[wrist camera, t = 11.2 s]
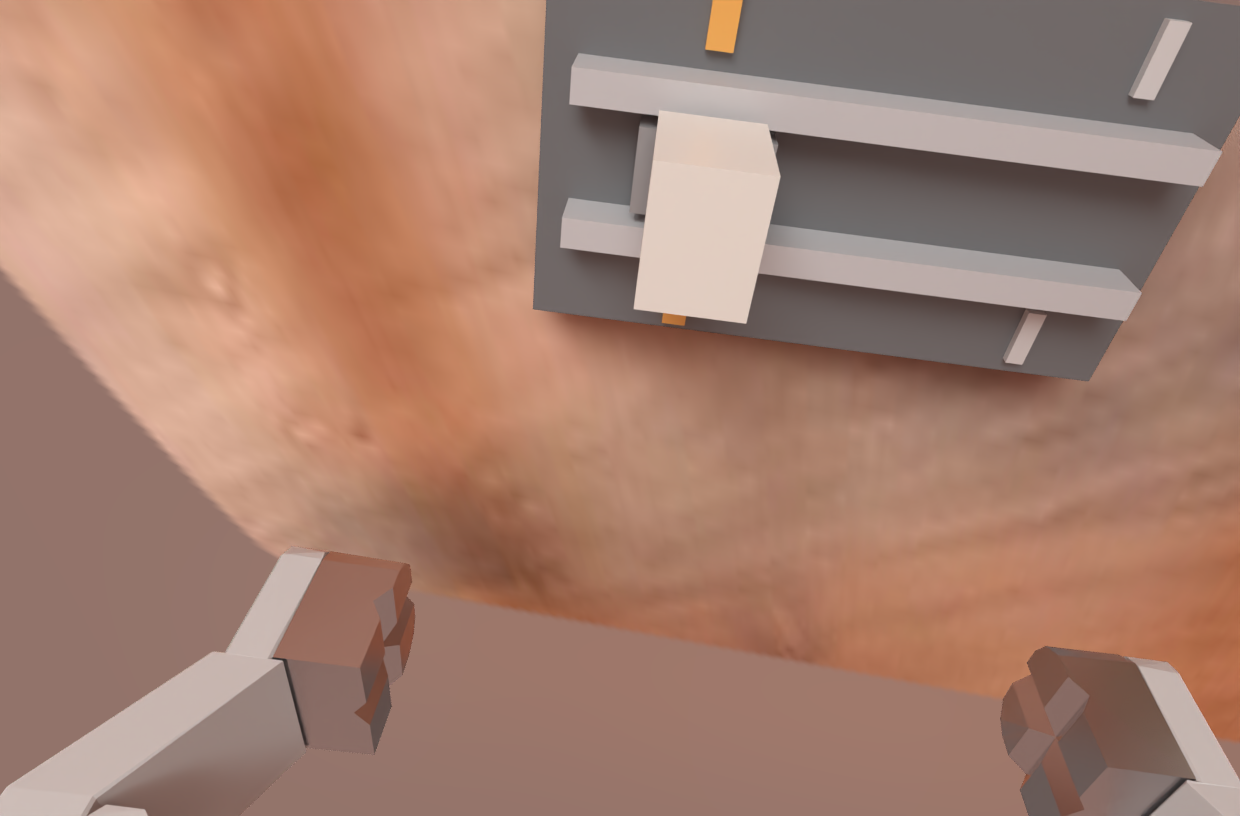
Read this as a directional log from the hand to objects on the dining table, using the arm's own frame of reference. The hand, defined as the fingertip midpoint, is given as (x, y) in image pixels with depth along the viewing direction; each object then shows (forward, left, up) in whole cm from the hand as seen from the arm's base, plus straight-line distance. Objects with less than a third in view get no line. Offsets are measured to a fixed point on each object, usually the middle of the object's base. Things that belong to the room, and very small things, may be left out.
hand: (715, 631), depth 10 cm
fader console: (-5, 0, -21) cm, 21 cm away
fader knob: (0, 0, -17) cm, 17 cm away
